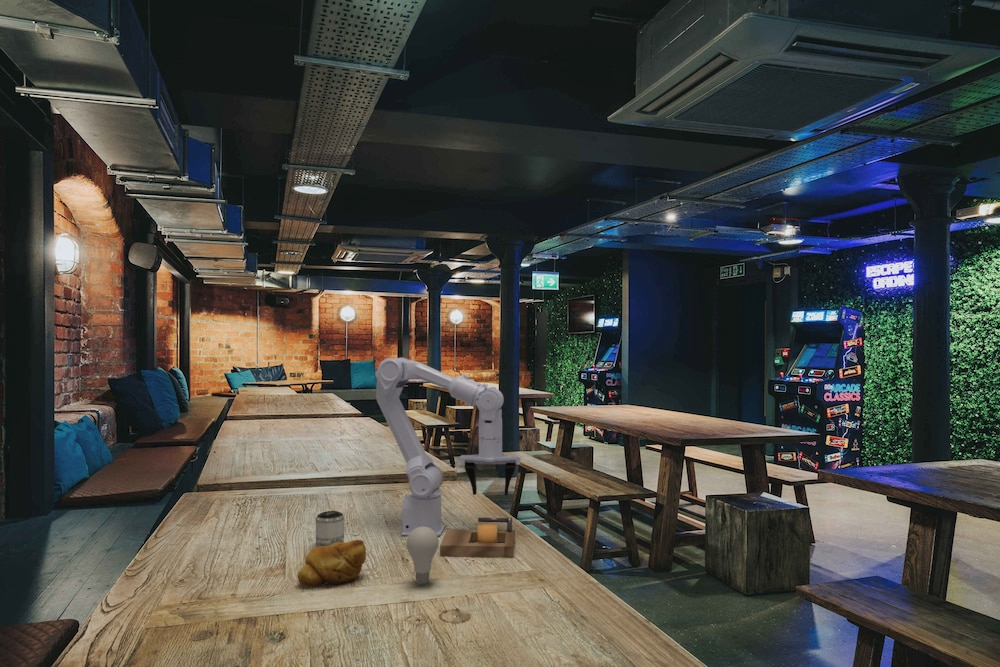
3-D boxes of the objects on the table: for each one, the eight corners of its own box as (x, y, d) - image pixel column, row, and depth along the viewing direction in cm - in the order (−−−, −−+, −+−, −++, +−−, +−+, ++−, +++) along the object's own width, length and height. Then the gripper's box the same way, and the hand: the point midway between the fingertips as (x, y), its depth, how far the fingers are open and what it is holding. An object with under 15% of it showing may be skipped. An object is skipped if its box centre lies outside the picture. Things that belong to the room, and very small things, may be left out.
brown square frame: (439, 556, 135) (439, 545, 135) (447, 539, 147) (447, 529, 147) (513, 557, 134) (513, 546, 134) (514, 540, 146) (514, 530, 146)
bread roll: (301, 595, 114) (301, 551, 114) (291, 577, 123) (292, 537, 123) (369, 582, 120) (369, 540, 120) (356, 566, 129) (356, 528, 129)
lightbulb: (443, 580, 121) (443, 524, 121) (430, 592, 115) (430, 533, 115) (415, 577, 123) (415, 521, 123) (400, 588, 117) (400, 529, 117)
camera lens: (349, 547, 141) (349, 512, 141) (325, 554, 136) (325, 518, 137) (334, 541, 145) (334, 507, 145) (310, 547, 141) (310, 513, 141)
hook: (478, 542, 145) (478, 518, 145) (478, 540, 146) (478, 517, 146) (512, 542, 144) (512, 518, 144) (512, 540, 145) (512, 517, 145)
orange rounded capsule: (475, 551, 138) (475, 528, 138) (479, 545, 142) (479, 523, 142) (495, 552, 137) (495, 529, 137) (498, 546, 142) (498, 524, 142)
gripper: (458, 440, 147) (458, 497, 147) (519, 440, 146) (520, 498, 146) (462, 435, 154) (462, 490, 154) (520, 436, 153) (520, 491, 153)
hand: (490, 494), depth 150 cm, fingers open, 7 cm apart
